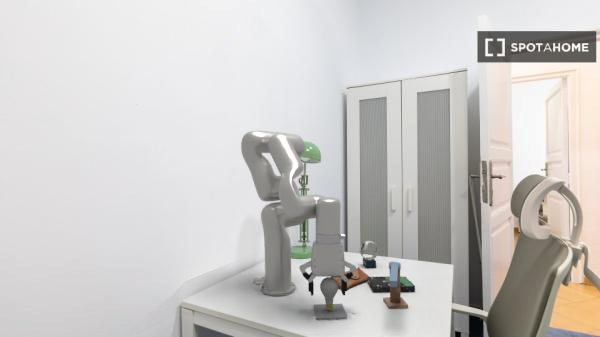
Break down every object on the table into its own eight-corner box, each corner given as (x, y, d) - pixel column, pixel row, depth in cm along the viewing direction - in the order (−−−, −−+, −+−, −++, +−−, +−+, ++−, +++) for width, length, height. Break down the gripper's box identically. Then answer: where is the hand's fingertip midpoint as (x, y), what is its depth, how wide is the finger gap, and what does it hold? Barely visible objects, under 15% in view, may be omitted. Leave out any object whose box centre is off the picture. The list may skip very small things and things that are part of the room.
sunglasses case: (345, 291, 110) (337, 273, 113) (332, 296, 115) (325, 278, 118) (375, 279, 122) (367, 262, 125) (362, 284, 127) (356, 268, 129)
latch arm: (400, 287, 84) (400, 281, 84) (386, 286, 85) (386, 280, 85) (400, 267, 101) (400, 262, 101) (389, 266, 102) (389, 261, 102)
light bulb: (336, 306, 98) (336, 274, 98) (339, 314, 93) (339, 280, 93) (319, 306, 98) (319, 274, 98) (321, 314, 93) (321, 280, 93)
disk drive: (373, 295, 109) (415, 293, 109) (373, 287, 109) (415, 285, 109) (367, 283, 120) (405, 282, 120) (366, 276, 120) (405, 275, 120)
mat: (316, 319, 91) (316, 318, 91) (314, 306, 100) (314, 304, 100) (347, 318, 91) (347, 317, 91) (342, 305, 100) (342, 303, 100)
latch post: (389, 308, 97) (388, 272, 97) (383, 300, 103) (382, 266, 103) (408, 308, 97) (407, 272, 97) (401, 300, 103) (400, 266, 103)
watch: (358, 264, 141) (358, 240, 140) (376, 264, 141) (375, 239, 141) (361, 268, 135) (361, 243, 135) (380, 268, 135) (379, 242, 135)
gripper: (353, 235, 99) (353, 288, 100) (299, 235, 99) (299, 288, 100) (358, 241, 92) (358, 298, 92) (299, 241, 92) (299, 299, 92)
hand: (327, 293), depth 96 cm, fingers open, 9 cm apart
